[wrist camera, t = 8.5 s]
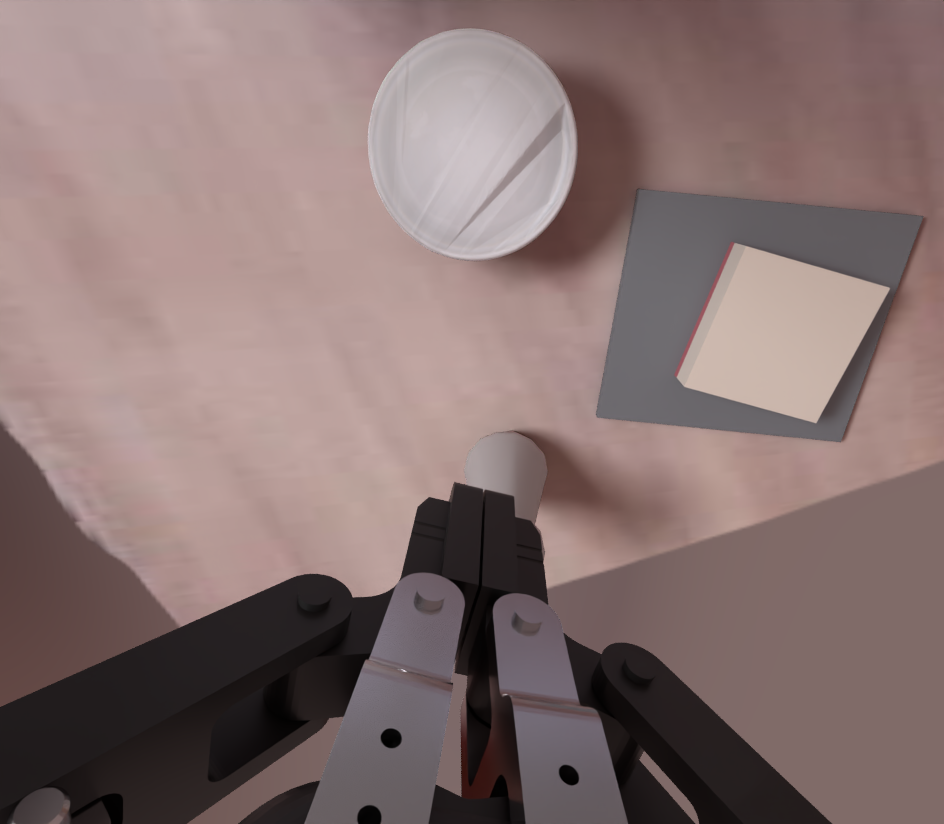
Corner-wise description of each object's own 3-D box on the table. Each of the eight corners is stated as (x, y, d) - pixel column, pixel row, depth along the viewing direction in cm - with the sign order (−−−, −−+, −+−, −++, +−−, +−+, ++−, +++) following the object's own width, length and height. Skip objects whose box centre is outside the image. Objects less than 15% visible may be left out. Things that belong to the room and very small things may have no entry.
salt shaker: (546, 420, 41) (564, 519, 29) (544, 490, 44) (559, 609, 32) (465, 419, 42) (449, 517, 30) (466, 489, 44) (452, 607, 32)
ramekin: (547, 264, 38) (553, 277, 33) (376, 234, 37) (357, 243, 32) (588, 67, 33) (602, 49, 28) (396, 33, 33) (377, 8, 28)
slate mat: (637, 188, 35) (639, 189, 35) (916, 215, 35) (923, 216, 35) (595, 414, 41) (597, 417, 41) (836, 438, 41) (840, 442, 40)
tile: (684, 386, 37) (816, 423, 37) (746, 246, 33) (890, 288, 34) (674, 374, 39) (798, 409, 40) (731, 241, 36) (866, 281, 36)
